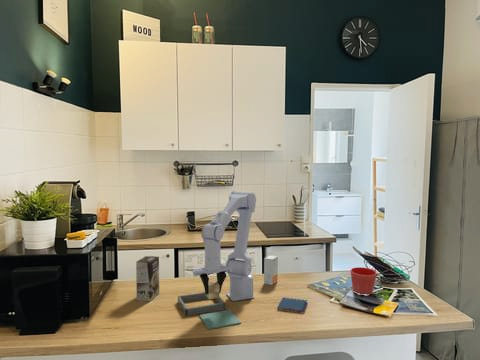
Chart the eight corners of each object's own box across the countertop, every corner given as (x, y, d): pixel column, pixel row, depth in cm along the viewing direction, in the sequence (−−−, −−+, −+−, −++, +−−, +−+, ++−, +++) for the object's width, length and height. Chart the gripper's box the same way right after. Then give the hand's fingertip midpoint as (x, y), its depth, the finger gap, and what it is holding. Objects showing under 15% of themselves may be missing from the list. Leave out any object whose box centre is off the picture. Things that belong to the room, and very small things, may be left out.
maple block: (216, 293, 139) (216, 280, 139) (219, 297, 136) (219, 284, 135) (205, 295, 138) (205, 282, 138) (208, 299, 134) (208, 285, 134)
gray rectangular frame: (214, 296, 155) (214, 290, 154) (225, 309, 142) (225, 303, 142) (177, 302, 149) (177, 296, 149) (185, 316, 136) (185, 309, 136)
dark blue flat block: (281, 301, 151) (281, 296, 151) (307, 304, 148) (307, 299, 148) (276, 311, 141) (276, 306, 141) (303, 315, 138) (304, 310, 138)
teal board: (230, 311, 140) (230, 309, 140) (240, 323, 130) (240, 322, 130) (199, 316, 136) (199, 315, 136) (208, 329, 126) (208, 328, 126)
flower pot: (378, 291, 160) (379, 269, 159) (372, 300, 151) (373, 276, 150) (354, 286, 166) (354, 265, 165) (346, 294, 156) (347, 272, 156)
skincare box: (272, 285, 167) (272, 259, 166) (263, 283, 170) (263, 258, 169) (277, 281, 172) (278, 256, 171) (269, 279, 175) (269, 255, 174)
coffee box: (150, 301, 150) (150, 262, 148) (136, 300, 151) (135, 261, 150) (160, 293, 158) (159, 256, 157) (146, 292, 160) (145, 255, 158)
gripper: (195, 261, 129) (196, 299, 130) (234, 257, 134) (234, 293, 135) (191, 256, 136) (191, 292, 137) (228, 252, 141) (228, 287, 142)
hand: (212, 292), depth 136 cm, fingers closed on maple block, 4 cm apart
